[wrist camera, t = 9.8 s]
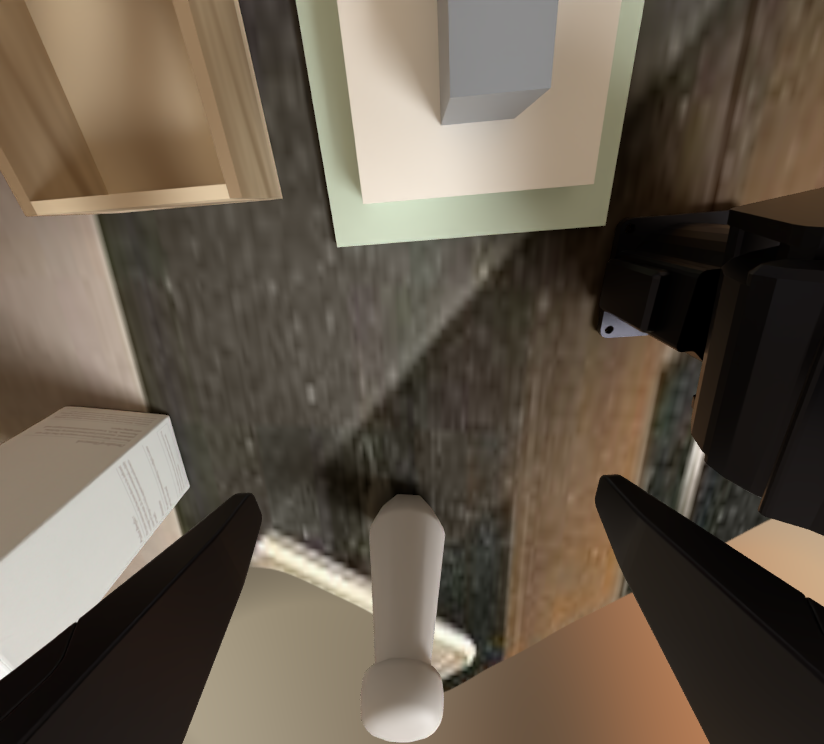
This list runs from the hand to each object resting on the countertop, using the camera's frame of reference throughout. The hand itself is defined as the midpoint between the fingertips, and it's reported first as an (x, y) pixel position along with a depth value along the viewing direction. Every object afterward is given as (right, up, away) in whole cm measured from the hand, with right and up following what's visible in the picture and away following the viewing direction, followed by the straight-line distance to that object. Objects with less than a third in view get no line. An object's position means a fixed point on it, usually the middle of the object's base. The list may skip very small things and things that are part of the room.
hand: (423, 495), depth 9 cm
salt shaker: (-1, -8, +19) cm, 21 cm away
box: (-12, +16, +7) cm, 21 cm away
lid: (+2, +17, +5) cm, 18 cm away
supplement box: (-21, -3, +16) cm, 27 cm away
